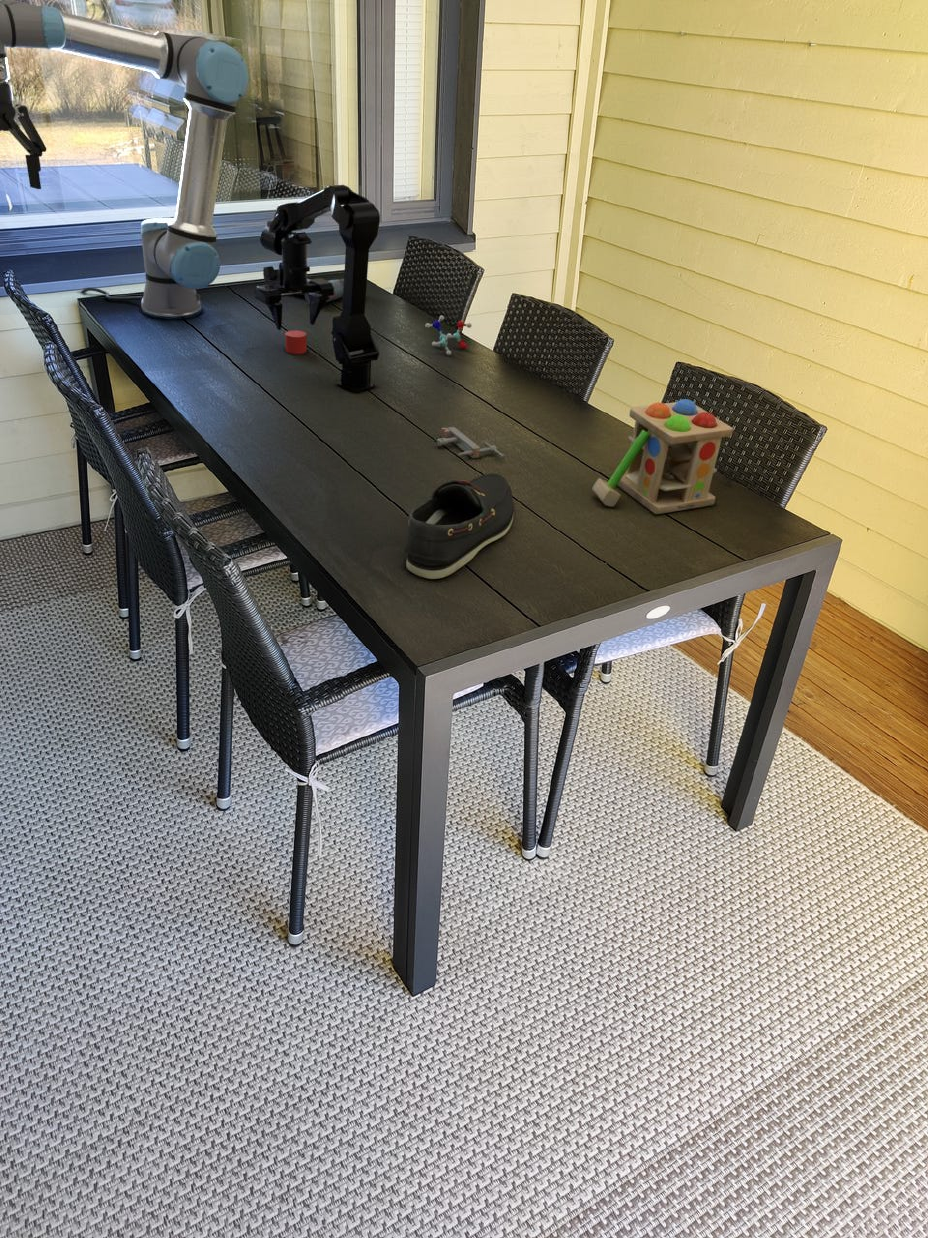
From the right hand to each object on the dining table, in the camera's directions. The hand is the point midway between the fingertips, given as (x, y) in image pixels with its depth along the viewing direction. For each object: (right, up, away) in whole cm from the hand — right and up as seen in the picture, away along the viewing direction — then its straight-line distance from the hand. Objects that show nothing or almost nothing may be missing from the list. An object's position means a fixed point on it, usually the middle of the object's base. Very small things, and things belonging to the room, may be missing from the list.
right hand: (295, 326), depth 237 cm
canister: (-1, -4, +5) cm, 7 cm away
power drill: (-3, +23, +44) cm, 50 cm away
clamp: (+41, -36, -35) cm, 65 cm away
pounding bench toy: (+76, -47, -46) cm, 101 cm away
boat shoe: (+40, -56, -65) cm, 95 cm away
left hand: (-57, +21, -26) cm, 66 cm away
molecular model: (+36, -1, +15) cm, 39 cm away
